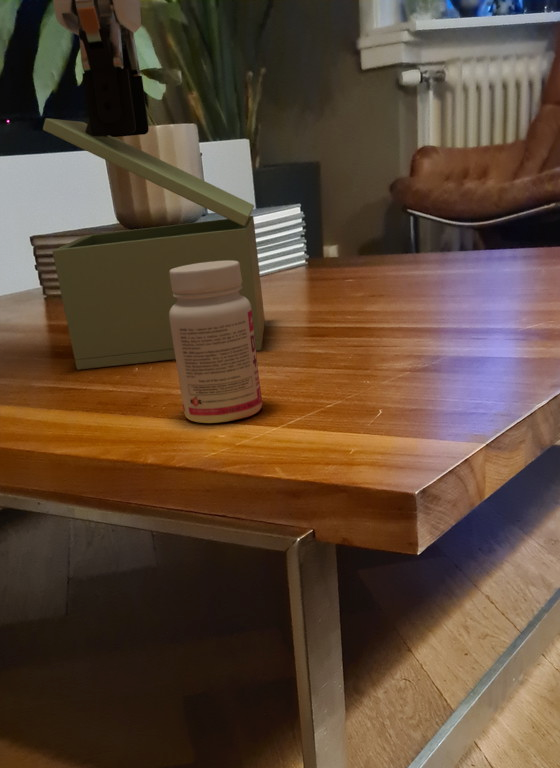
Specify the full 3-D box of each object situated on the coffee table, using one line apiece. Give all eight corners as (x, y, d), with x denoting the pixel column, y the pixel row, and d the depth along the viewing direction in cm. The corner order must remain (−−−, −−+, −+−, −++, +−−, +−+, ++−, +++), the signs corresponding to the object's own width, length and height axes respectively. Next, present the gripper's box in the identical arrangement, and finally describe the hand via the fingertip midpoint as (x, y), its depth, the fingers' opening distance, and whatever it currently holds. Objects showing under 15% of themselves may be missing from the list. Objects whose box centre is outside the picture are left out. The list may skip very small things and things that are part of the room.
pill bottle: (278, 411, 54) (261, 260, 50) (207, 429, 52) (184, 274, 48) (239, 398, 58) (220, 257, 54) (171, 415, 56) (148, 270, 52)
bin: (76, 370, 72) (51, 250, 68) (105, 339, 83) (85, 235, 79) (261, 350, 71) (247, 228, 67) (264, 322, 82) (253, 215, 78)
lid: (42, 129, 64) (63, 54, 62) (78, 131, 75) (97, 68, 73) (244, 226, 67) (271, 158, 65) (250, 214, 78) (273, 155, 76)
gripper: (53, -128, 69) (94, 140, 78) (-13, -205, 54) (47, 139, 62) (152, -138, 69) (182, 132, 77) (113, -218, 54) (156, 129, 62)
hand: (121, 132), depth 70 cm, fingers closed on lid, 6 cm apart
